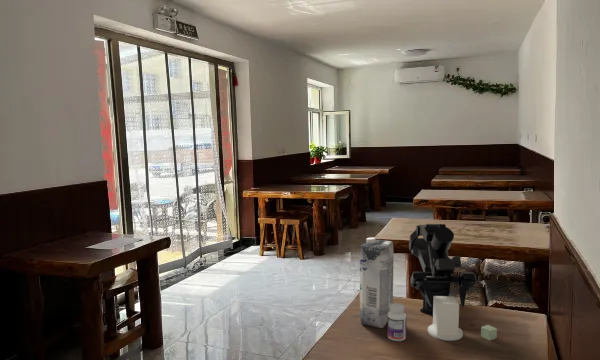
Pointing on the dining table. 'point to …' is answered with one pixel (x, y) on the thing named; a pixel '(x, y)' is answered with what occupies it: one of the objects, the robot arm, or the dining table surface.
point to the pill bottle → (397, 322)
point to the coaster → (445, 337)
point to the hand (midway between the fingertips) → (447, 306)
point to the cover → (445, 315)
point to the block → (488, 332)
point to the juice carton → (376, 281)
